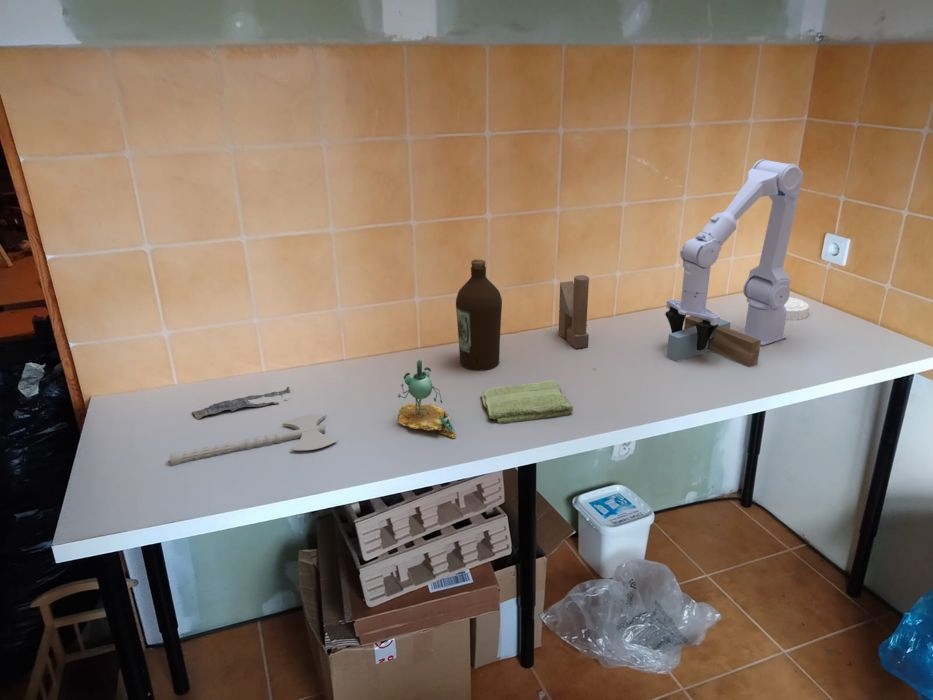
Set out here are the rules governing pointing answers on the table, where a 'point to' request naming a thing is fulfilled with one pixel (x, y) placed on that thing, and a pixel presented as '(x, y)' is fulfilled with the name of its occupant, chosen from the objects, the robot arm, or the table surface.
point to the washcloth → (526, 402)
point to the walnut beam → (731, 343)
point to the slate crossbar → (687, 342)
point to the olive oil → (479, 320)
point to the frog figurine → (423, 414)
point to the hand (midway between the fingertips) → (688, 344)
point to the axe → (268, 440)
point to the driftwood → (237, 404)
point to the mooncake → (796, 309)
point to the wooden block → (574, 311)
